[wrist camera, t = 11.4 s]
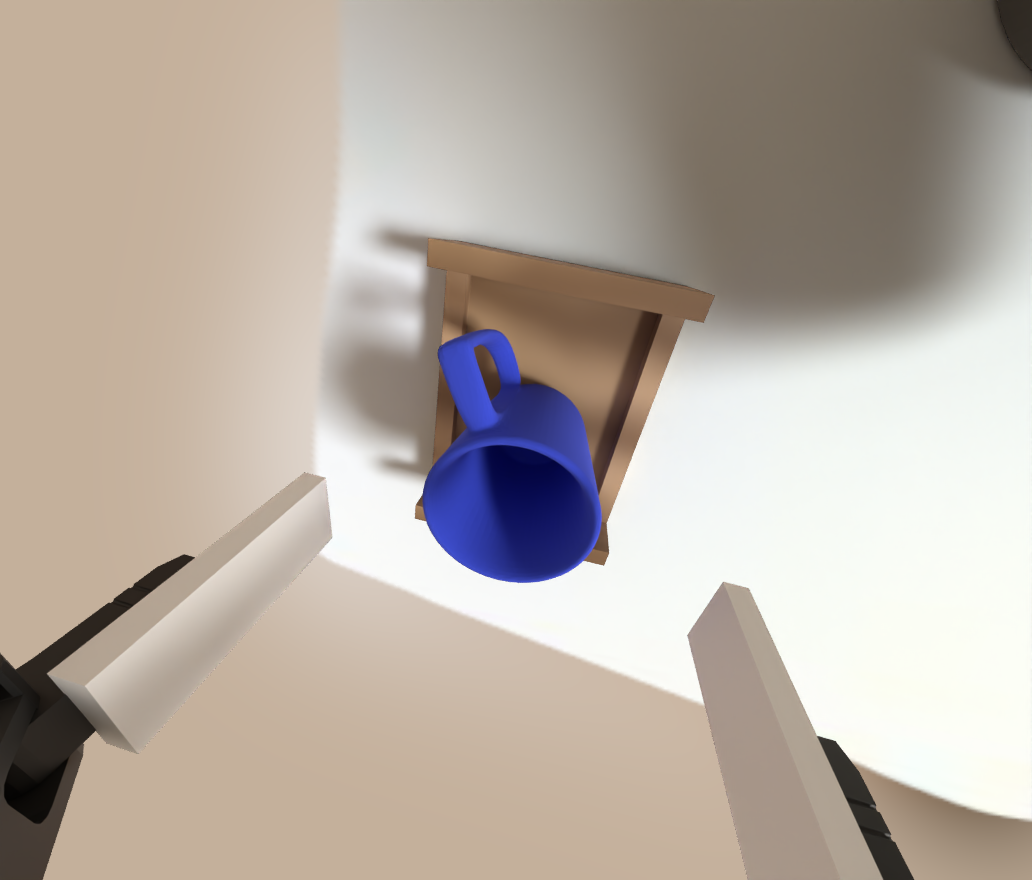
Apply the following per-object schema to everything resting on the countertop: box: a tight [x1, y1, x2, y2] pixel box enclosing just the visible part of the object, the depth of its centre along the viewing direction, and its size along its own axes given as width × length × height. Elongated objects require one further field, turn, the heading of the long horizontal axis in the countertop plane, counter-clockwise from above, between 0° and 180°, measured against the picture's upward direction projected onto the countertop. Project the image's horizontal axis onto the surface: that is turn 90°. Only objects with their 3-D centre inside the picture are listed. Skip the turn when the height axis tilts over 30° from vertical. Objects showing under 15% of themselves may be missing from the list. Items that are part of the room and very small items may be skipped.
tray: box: [415, 238, 715, 566], centre depth 23 cm, size 17×13×5 cm
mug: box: [423, 329, 602, 583], centre depth 20 cm, size 8×12×10 cm
